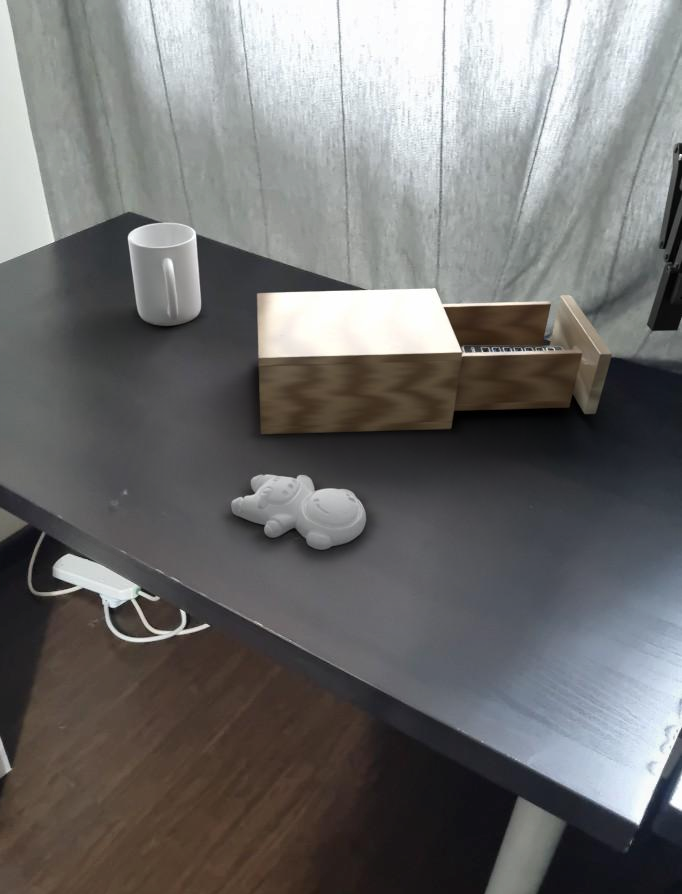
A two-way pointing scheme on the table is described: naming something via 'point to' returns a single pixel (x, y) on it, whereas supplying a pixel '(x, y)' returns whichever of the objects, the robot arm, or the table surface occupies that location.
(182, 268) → the cup
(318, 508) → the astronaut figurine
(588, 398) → the drawer
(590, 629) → the table surface
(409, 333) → the cabinet
